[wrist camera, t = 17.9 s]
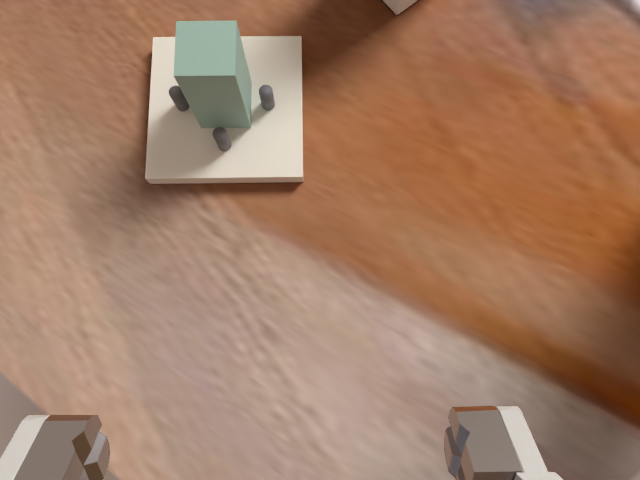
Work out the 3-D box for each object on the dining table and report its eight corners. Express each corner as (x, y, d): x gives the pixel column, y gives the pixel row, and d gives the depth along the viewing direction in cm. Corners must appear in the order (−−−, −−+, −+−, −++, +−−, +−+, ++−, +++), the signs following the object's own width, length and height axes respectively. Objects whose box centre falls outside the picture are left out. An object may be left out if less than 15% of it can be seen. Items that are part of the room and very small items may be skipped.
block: (251, 82, 46) (236, 20, 37) (250, 127, 45) (235, 75, 36) (202, 82, 46) (176, 21, 37) (201, 128, 45) (173, 75, 36)
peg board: (301, 45, 48) (300, 19, 44) (303, 182, 46) (302, 167, 42) (158, 46, 48) (144, 20, 44) (150, 183, 45) (135, 169, 41)
